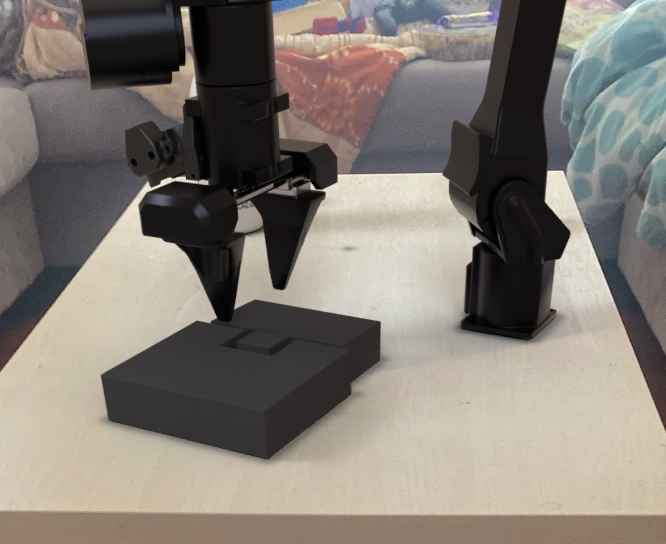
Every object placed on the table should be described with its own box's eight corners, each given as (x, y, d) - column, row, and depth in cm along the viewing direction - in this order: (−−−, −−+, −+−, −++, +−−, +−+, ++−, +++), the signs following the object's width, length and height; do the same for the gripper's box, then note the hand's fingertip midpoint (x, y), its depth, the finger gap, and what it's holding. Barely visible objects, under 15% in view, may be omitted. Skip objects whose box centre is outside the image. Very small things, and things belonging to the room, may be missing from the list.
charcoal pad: (351, 394, 79) (350, 349, 77) (267, 459, 71) (263, 411, 69) (201, 363, 85) (196, 319, 82) (108, 420, 77) (99, 374, 75)
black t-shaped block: (380, 364, 84) (381, 321, 82) (321, 404, 78) (321, 357, 76) (256, 341, 89) (254, 298, 87) (191, 376, 83) (187, 331, 81)
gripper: (216, 52, 82) (234, 258, 93) (60, 96, 70) (100, 327, 80) (338, 60, 78) (343, 275, 88) (194, 108, 66) (218, 351, 76)
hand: (252, 304), depth 83 cm, fingers open, 8 cm apart
